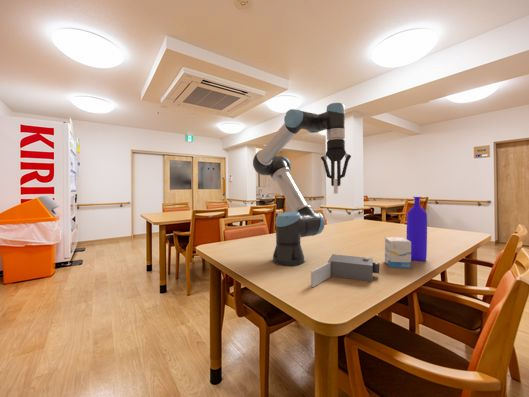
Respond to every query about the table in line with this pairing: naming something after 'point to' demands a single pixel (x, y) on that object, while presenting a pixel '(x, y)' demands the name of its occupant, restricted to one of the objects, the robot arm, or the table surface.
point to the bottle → (417, 231)
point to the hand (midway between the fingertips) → (335, 193)
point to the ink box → (398, 252)
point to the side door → (320, 274)
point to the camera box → (353, 267)
